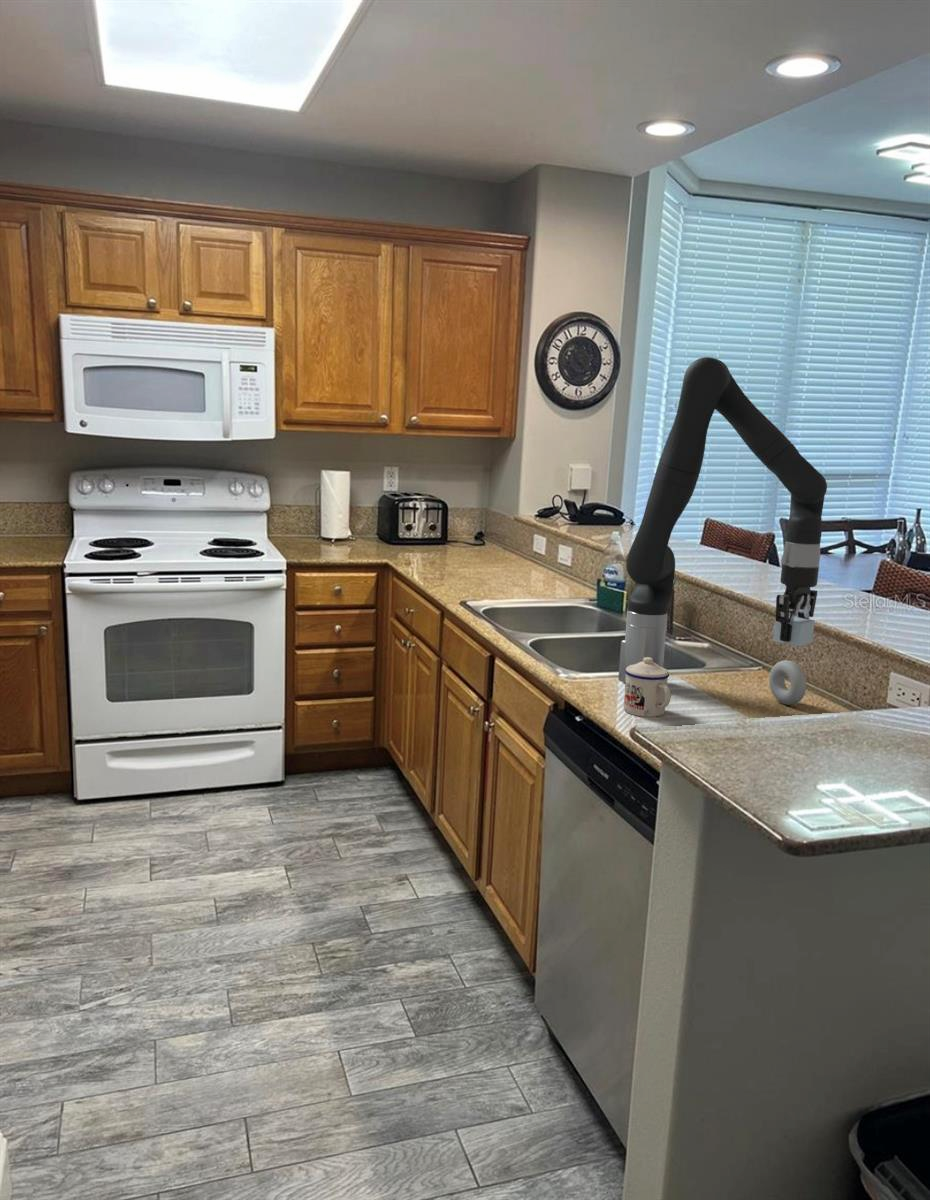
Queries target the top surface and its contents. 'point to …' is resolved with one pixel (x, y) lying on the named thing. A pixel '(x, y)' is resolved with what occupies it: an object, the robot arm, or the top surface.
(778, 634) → the gray block
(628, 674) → the teacup with lid
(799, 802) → the top surface
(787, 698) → the donut
